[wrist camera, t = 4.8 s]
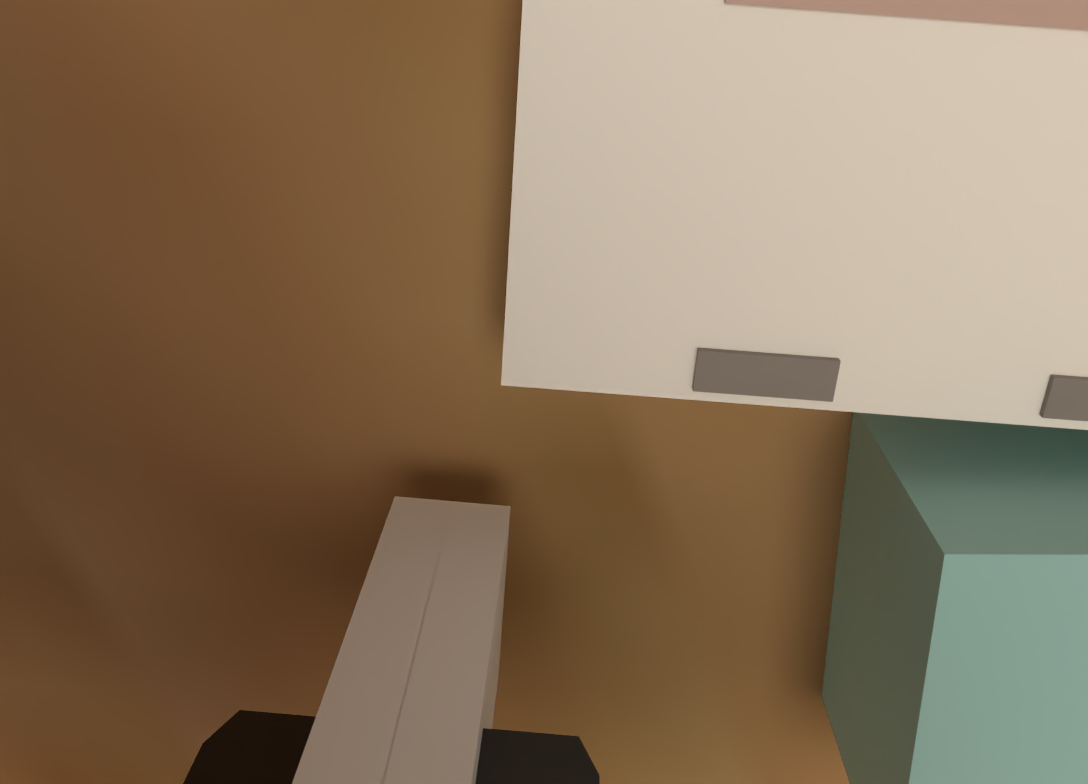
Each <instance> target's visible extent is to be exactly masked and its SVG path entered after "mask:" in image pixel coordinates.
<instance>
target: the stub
mask: <svg viewBox="0 0 1088 784" xmlns="http://www.w3.org/2000/svg"><path fill="white" fill-rule="evenodd" d="M822 698H823V701H824V705H825V708H826V711H827V714H828V717H829V720H830V723H831V726H832V729H833V733H834V736H835V739H836V742H837V745H838V748H839V751H840V754H841V757H842V761H843V764H844V767H845V770H846V773H847V776H848V779H849V782H850V784H1088V430H1081V429H1068V428H1055V427H1041V426H1028V425H1015V424H1002V423H989V422H976V421H963V420H950V419H937V418H924V417H910V416H897V415H884V414H871V413H858V412H853V416H852V425H851V434H850V443H849V452H848V461H847V470H846V480H845V489H844V498H843V507H842V516H841V525H840V534H839V543H838V552H837V562H836V571H835V580H834V589H833V598H832V607H831V616H830V625H829V634H828V644H827V653H826V662H825V671H824V680H823V689H822Z"/></svg>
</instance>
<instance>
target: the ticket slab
mask: <svg viewBox="0 0 1088 784" xmlns="http://www.w3.org/2000/svg"><path fill="white" fill-rule="evenodd" d="M501 385H504V386H517V387H530V388H544V389H557V390H570V391H583V392H596V393H609V394H622V395H635V396H648V397H662V398H675V399H688V400H701V401H714V402H727V403H740V404H753V405H766V406H779V407H793V408H806V409H819V410H832V411H845V412H858V413H871V414H884V415H897V416H910V417H924V418H937V419H950V420H963V421H976V422H989V423H1002V424H1015V425H1028V426H1041V427H1055V428H1068V429H1081V430H1088V0H523V3H522V21H521V39H520V57H519V75H518V93H517V110H516V128H515V146H514V164H513V182H512V200H511V217H510V235H509V253H508V271H507V289H506V307H505V324H504V342H503V360H502V378H501Z"/></svg>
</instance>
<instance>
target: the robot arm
mask: <svg viewBox="0 0 1088 784" xmlns="http://www.w3.org/2000/svg"><path fill="white" fill-rule="evenodd" d="M510 508H511V506H503V505H491V504H479V503H468V502H456V501H444V500H433V499H421V498H409V497H398V496H395V497H394V500H393V503H392V505H391V508H390V511H389V514H388V517H387V519H386V522H385V525H384V528H383V530H382V533H381V536H380V539H379V542H378V544H377V547H376V550H375V553H374V556H373V558H372V561H371V564H370V567H369V570H368V572H367V575H366V578H365V581H364V584H363V586H362V589H361V592H360V595H359V598H358V600H357V603H356V606H355V609H354V612H353V614H352V617H351V620H350V623H349V626H348V628H347V631H346V634H345V637H344V640H343V642H342V645H341V648H340V651H339V654H338V656H337V659H336V662H335V665H334V668H333V670H332V673H331V676H330V679H329V681H328V684H327V687H326V690H325V693H324V695H323V698H322V701H321V704H320V707H319V709H318V712H317V715H316V717H313V716H301V715H290V714H278V713H267V712H255V711H244V710H239V711H238V712H237V713H236V714H235V715H234V716H233V717H232V718H231V719H230V720H228V721H227V722H226V723H225V724H224V725H223V726H222V727H221V728H220V729H218V730H217V731H216V732H215V733H214V734H213V735H212V736H211V737H210V738H208V739H207V740H206V741H205V742H204V743H203V744H202V746H201V748H200V750H199V752H198V754H197V757H196V759H195V761H194V763H193V765H192V767H191V769H190V771H189V773H188V775H187V777H186V779H185V781H184V783H183V784H599V774H598V772H597V770H596V768H595V766H594V764H593V762H592V761H591V759H590V757H589V755H588V753H587V751H586V749H585V747H584V746H583V744H582V742H581V740H580V738H579V737H578V736H566V735H555V734H543V733H532V732H520V731H509V730H498V729H492V725H493V717H494V709H495V701H496V693H497V685H498V676H499V662H500V648H501V634H502V620H503V606H504V592H505V578H506V564H507V550H508V536H509V522H510Z"/></svg>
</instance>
